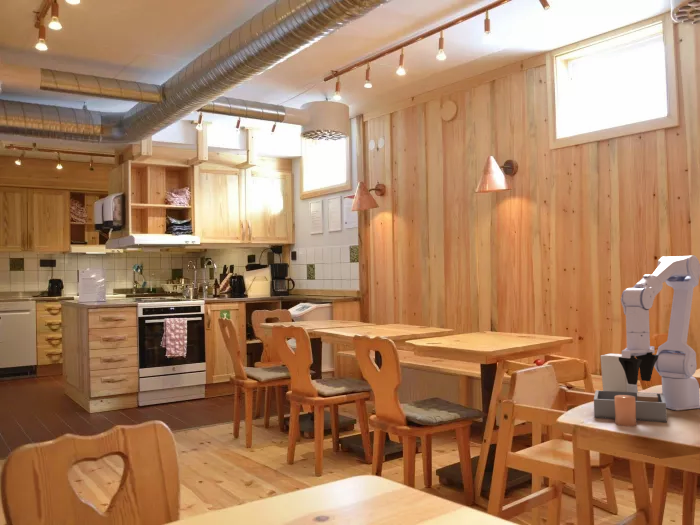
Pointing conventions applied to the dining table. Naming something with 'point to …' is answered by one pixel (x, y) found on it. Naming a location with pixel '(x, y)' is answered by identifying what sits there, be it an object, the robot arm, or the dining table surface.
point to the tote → (644, 410)
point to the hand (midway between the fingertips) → (639, 382)
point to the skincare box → (614, 374)
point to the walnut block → (647, 397)
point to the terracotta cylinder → (625, 410)
